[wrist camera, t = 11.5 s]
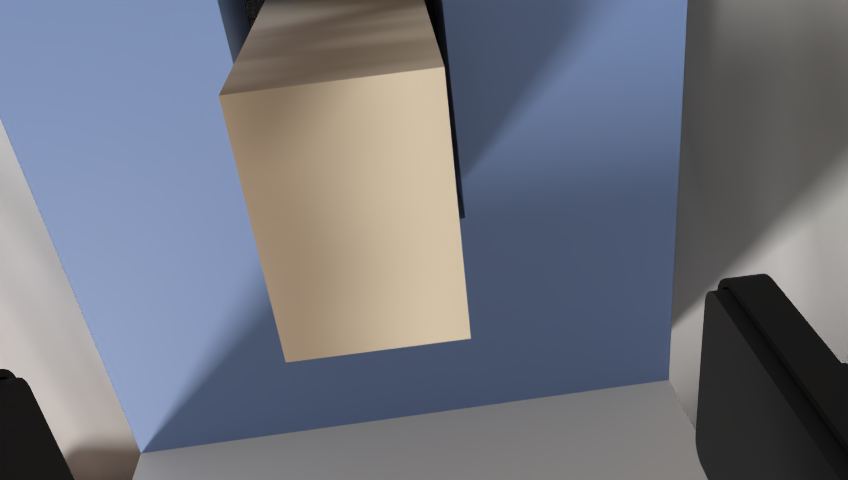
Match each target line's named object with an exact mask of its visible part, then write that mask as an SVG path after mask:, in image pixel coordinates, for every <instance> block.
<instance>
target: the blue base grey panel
mask: <svg viewBox="0 0 848 480" xmlns="http://www.w3.org/2000/svg"><path fill="white" fill-rule="evenodd" d="M687 1H688V0H435V9H436V18H437V27H438V36H439V45H440V54H441V57H442V60H443V64H444V67H445V77H446V88H447V98H448V108H449V119H450V129H451V139H452V149H453V160H454V170H455V180H456V191H457V201H458V211H459V221H460V232H461V242H462V252H463V263H464V273H465V283H466V293H467V304H468V314H469V324H470V335H471V339H464V340H456V341H448V342H440V343H433V344H425V345H417V346H410V347H402V348H394V349H386V350H379V351H371V352H363V353H356V354H348V355H340V356H332V357H325V358H317V359H309V360H302V361H294V362H286V361H285V357H284V353H283V349H282V345H281V341H280V337H279V333H278V329H277V325H276V321H275V317H274V314H273V310H272V306H271V302H270V298H269V294H268V290H267V286H266V282H265V278H264V274H263V270H262V266H261V262H260V258H259V254H258V250H257V246H256V242H255V238H254V234H253V230H252V226H251V222H250V218H249V214H248V210H247V207H246V203H245V199H244V195H243V191H242V187H241V183H240V179H239V175H238V171H237V167H236V163H235V159H234V155H233V151H232V147H231V143H230V139H229V135H228V131H227V127H226V123H225V119H224V115H223V111H222V107H221V103H220V99H219V94H220V92H221V90H222V88H223V85H224V83H225V81H226V79H227V77H228V75H229V73H230V71H231V69H232V67H233V65H234V63H235V61H236V59H237V57H238V55H239V53H240V51H241V49H242V47H243V45H244V42H245V40H246V38H247V36H248V34H249V32H250V30H251V29H250V25H249V20H248V16H247V12H246V8H245V3H244V0H0V119H1V121H2V124H3V126H4V128H5V131H6V133H7V135H8V138H9V140H10V143H11V145H12V147H13V150H14V152H15V155H16V157H17V159H18V162H19V164H20V166H21V169H22V171H23V174H24V176H25V178H26V181H27V183H28V185H29V188H30V190H31V193H32V195H33V197H34V200H35V202H36V205H37V207H38V209H39V212H40V214H41V216H42V219H43V221H44V224H45V226H46V228H47V231H48V233H49V235H50V238H51V240H52V243H53V245H54V247H55V250H56V252H57V255H58V257H59V259H60V262H61V264H62V266H63V269H64V271H65V274H66V276H67V278H68V281H69V283H70V285H71V288H72V290H73V293H74V295H75V297H76V300H77V302H78V304H79V307H80V309H81V312H82V314H83V316H84V319H85V321H86V324H87V326H88V328H89V331H90V333H91V335H92V338H93V340H94V343H95V345H96V347H97V350H98V352H99V354H100V357H101V359H102V362H103V364H104V366H105V369H106V371H107V374H108V376H109V378H110V381H111V383H112V385H113V388H114V390H115V393H116V395H117V397H118V400H119V402H120V404H121V407H122V409H123V412H124V414H125V416H126V419H127V421H128V424H129V426H130V428H131V431H132V433H133V435H134V438H135V440H136V443H137V445H138V447H139V450H140V452H141V455H140V458H139V461H138V464H137V467H136V470H135V473H134V476H133V479H132V480H708V479H707V477H706V474H705V472H704V470H703V468H702V466H701V464H700V461H699V458H698V454H697V449H696V442H695V436H696V431H695V429H694V427H693V425H692V423H691V422H690V420H689V418H688V416H687V414H686V412H685V410H684V408H683V406H682V405H681V403H680V401H679V399H678V397H677V395H676V393H675V391H674V389H673V387H672V386H671V384H670V382H669V361H670V341H671V321H672V301H673V281H674V261H675V241H676V221H677V201H678V181H679V161H680V141H681V121H682V101H683V81H684V61H685V41H686V21H687Z"/></svg>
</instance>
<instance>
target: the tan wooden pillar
mask: <svg viewBox="0 0 848 480" xmlns="http://www.w3.org/2000/svg"><path fill="white" fill-rule="evenodd" d="M219 99H220V103H221V107H222V111H223V115H224V119H225V123H226V127H227V131H228V135H229V139H230V143H231V147H232V151H233V155H234V159H235V163H236V167H237V171H238V175H239V179H240V183H241V187H242V191H243V195H244V199H245V203H246V207H247V210H248V214H249V218H250V222H251V226H252V230H253V234H254V238H255V242H256V246H257V250H258V254H259V258H260V262H261V266H262V270H263V274H264V278H265V282H266V286H267V290H268V294H269V298H270V302H271V306H272V310H273V314H274V317H275V321H276V325H277V329H278V333H279V337H280V341H281V345H282V349H283V353H284V357H285V361H286V362H294V361H302V360H309V359H317V358H325V357H332V356H340V355H348V354H356V353H363V352H371V351H379V350H386V349H394V348H402V347H410V346H417V345H425V344H433V343H440V342H448V341H456V340H464V339H471V335H470V324H469V314H468V304H467V293H466V283H465V273H464V263H463V252H462V242H461V232H460V221H459V211H458V201H457V191H456V180H455V170H454V160H453V149H452V139H451V129H450V119H449V108H448V98H447V88H446V77H445V67H444V64H443V60H442V57H441V54H440V51H439V47H438V44H437V41H436V38H435V34H434V31H433V28H432V25H431V21H430V18H429V15H428V12H427V8H426V5H425V2H424V0H265V2H264V4H263V6H262V8H261V10H260V12H259V14H258V16H257V18H256V20H255V22H254V24H253V26H252V28H251V30H250V32H249V34H248V36H247V38H246V40H245V42H244V45H243V47H242V49H241V51H240V53H239V55H238V57H237V59H236V61H235V63H234V65H233V67H232V69H231V71H230V73H229V75H228V77H227V79H226V81H225V83H224V85H223V88H222V90H221V92H220V94H219Z"/></svg>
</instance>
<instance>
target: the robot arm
mask: <svg viewBox="0 0 848 480" xmlns="http://www.w3.org/2000/svg"><path fill="white" fill-rule="evenodd" d="M695 442H696V449H697V454H698V458H699V461H700V464H701V466H702V468H703V470H704V472H705V474H706V477H707V479H708V480H848V364H847V363H841V362H840V361H839V360H838V359H837V357H836V356H835V355H834V354H833V352H832V351H831V350H830V349H829V348H828V346H827V345H826V344H825V343H824V341H823V340H822V339H821V338H820V337H819V335H818V334H817V333H816V332H815V331H814V329H813V328H812V327H811V326H810V324H809V323H808V322H807V321H806V320H805V318H804V317H803V316H802V315H801V313H800V312H799V311H798V310H797V309H796V307H795V306H794V305H793V304H792V302H791V301H790V300H789V299H788V298H787V296H786V295H785V294H784V293H783V291H782V290H781V289H780V288H779V287H778V285H777V284H776V283H775V282H774V281H773V279H772V278H771V277H770V276H768V275H767V274H757V275H749V276H741V277H733V278H725V279H722V280H721V281H720V283H719V285H718V290H716V291H709V292H708V293H707V295H706V298H705V309H704V323H703V337H702V351H701V365H700V379H699V393H698V408H697V422H696V436H695ZM0 480H74V478H73V476H72V474H71V471H70V469H69V467H68V465H67V463H66V461H65V459H64V457H63V455H62V453H61V451H60V449H59V447H58V445H57V442H56V440H55V438H54V436H53V434H52V432H51V430H50V428H49V426H48V424H47V422H46V420H45V418H44V415H43V413H42V411H41V409H40V407H39V405H38V403H37V401H36V399H35V397H34V395H33V393H32V391H31V388H30V386H29V385H28V383H27V382H26V381H25V380H24V379H23V378H16V377H15V375H14V374H13V373H12V372H10V371H9V370H6V369H0Z"/></svg>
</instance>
